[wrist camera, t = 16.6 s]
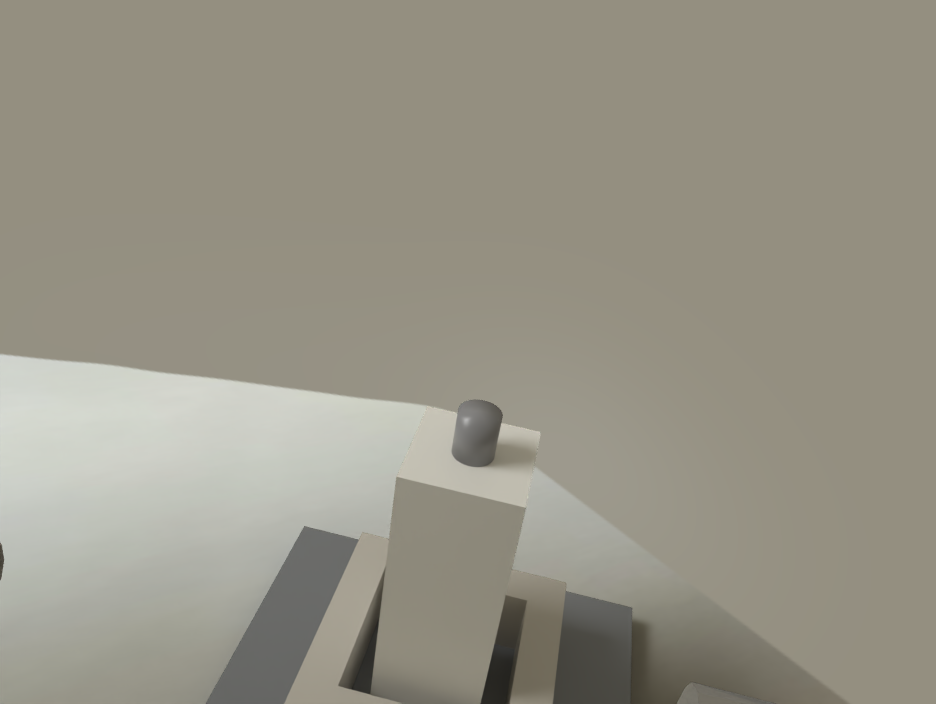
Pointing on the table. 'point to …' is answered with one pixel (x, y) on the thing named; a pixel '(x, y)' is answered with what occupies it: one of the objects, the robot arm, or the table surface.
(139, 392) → the table surface
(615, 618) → the socket plate
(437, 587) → the plug block
